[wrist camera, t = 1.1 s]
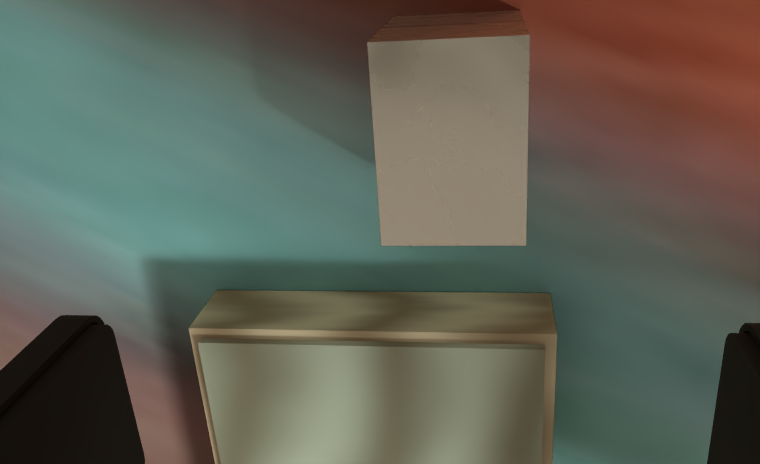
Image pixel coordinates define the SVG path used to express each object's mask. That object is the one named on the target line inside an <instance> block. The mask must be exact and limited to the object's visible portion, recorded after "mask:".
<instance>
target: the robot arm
mask: <svg viewBox="0 0 760 464" xmlns="http://www.w3.org/2000/svg"><path fill="white" fill-rule="evenodd" d="M0 464H145V458H144V452H143V448H142V444H141V440H140V436H139V432H138V428H137V424H136V420H135V416H134V412H133V408H132V404H131V400H130V395H129V391H128V387H127V383H126V379H125V375H124V371H123V367H122V363H121V359H120V355H119V351H118V347H117V343H116V339H115V335H114V332H113V329H112V328H111V327H110V326H109V325H104V322H103V321H102V319H101V318H100V317H98V316H84V315H64V316H60V317H58V318H57V319H55V320H54V321H53V322H52V323H51V324H50V325H49V326H48V327H47V328H46V329H45V330H44V331H42V332H41V333H40V334H39V335H38V336H37V337H36V338H35V339H34V340H33V341H32V342H31V343H30V344H28V345H27V346H26V347H25V348H24V349H23V350H22V351H21V352H20V353H19V354H18V355H17V356H16V357H14V358H13V359H12V360H11V361H10V362H9V363H8V364H7V365H6V366H5V367H4V368H3V369H2V370H0ZM707 464H760V323H745V324H743V325H742V327H741V329H740V331H739V333H730V334H728V336H727V338H726V341H725V347H724V354H723V360H722V367H721V374H720V381H719V387H718V394H717V401H716V408H715V414H714V421H713V428H712V435H711V441H710V448H709V455H708V461H707Z"/></svg>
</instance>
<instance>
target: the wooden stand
mask: <svg viewBox="0 0 760 464" xmlns="http://www.w3.org/2000/svg"><path fill="white" fill-rule="evenodd" d="M189 333H190V338H191V343H192V349H193V354H194V359H195V364H196V369H197V374H198V379H199V384H200V389H201V394H202V399H203V405H204V410H205V415H206V420H207V425H208V430H209V435H210V440H211V445H212V450H213V456H214V461H215V464H552V458H553V432H554V406H555V380H556V354H557V330H556V324H555V318H554V312H553V306H552V301H551V295H550V293H489V292H369V291H250V290H216V292H215V293H214V294H213V296H212V297H211V299H210V300H209V301H208V303H207V304H206V305H205V307H204V308H203V309H202V311H201V312H200V313H199V315H198V316H197V317H196V319H195V320H194V321H193V323H192V324H191V325H190V327H189Z"/></svg>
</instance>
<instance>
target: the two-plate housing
mask: <svg viewBox="0 0 760 464" xmlns="http://www.w3.org/2000/svg"><path fill="white" fill-rule="evenodd" d="M367 47H368V62H369V76H370V90H371V104H372V119H373V133H374V147H375V162H376V176H377V190H378V205H379V219H380V233H381V246H526V225H527V167H528V110H529V53H530V34H529V32H528V29H527V26H526V24H525V21H524V18H523V16H522V13H521V11H520V10H509V11H490V12H470V13H451V14H432V15H412V16H394V17H393V18H392V19H391V20H390V21H389V22H388V23H387V24H386V25H385V26H384V27H383V28H382V29H380V30H379V31H378V32H377V33H376V34H375V35H374V36H373V37H372V38H371V39H370V40H369V41H368V42H367Z"/></svg>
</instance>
